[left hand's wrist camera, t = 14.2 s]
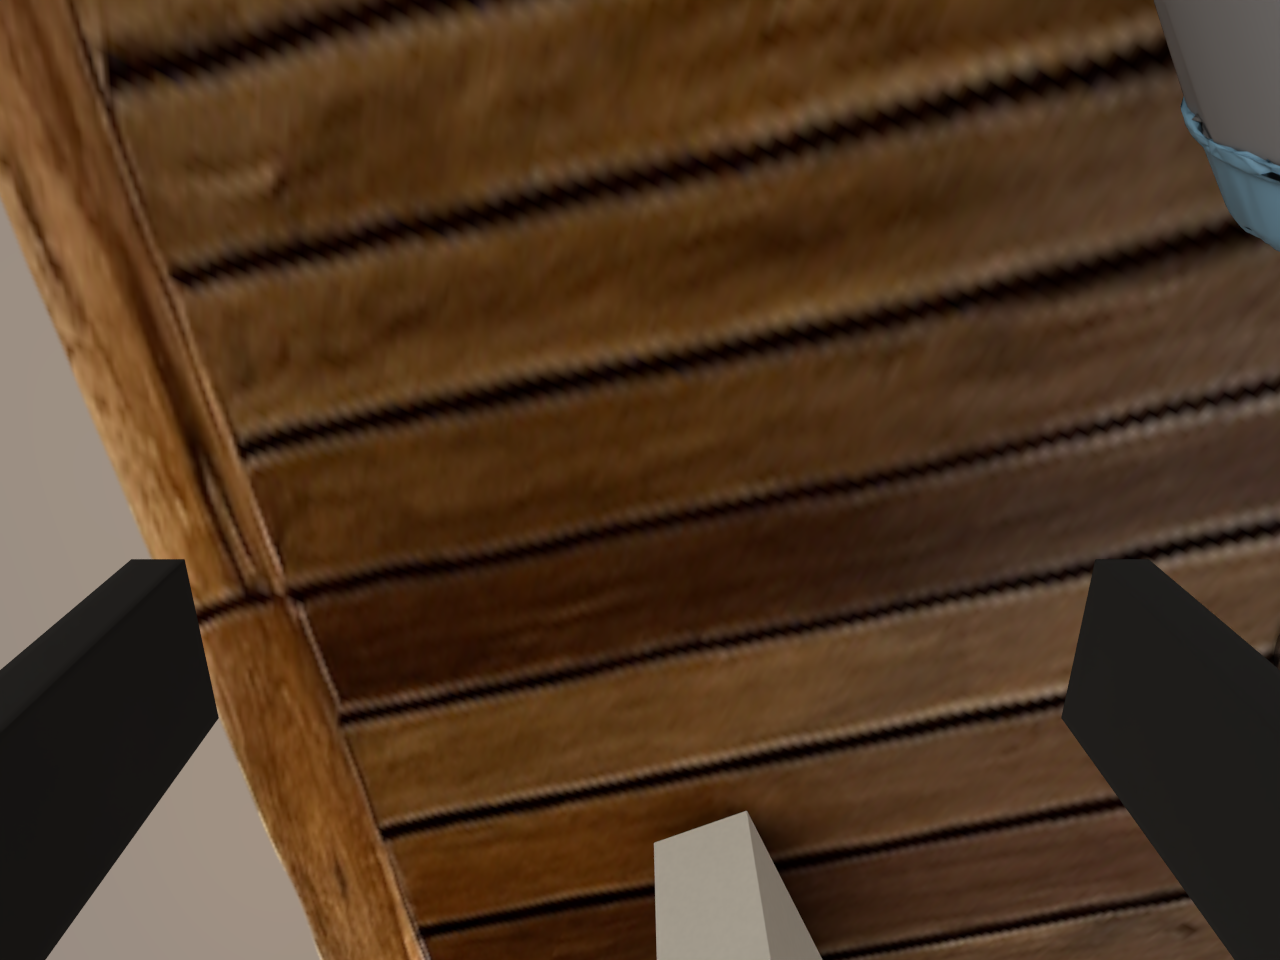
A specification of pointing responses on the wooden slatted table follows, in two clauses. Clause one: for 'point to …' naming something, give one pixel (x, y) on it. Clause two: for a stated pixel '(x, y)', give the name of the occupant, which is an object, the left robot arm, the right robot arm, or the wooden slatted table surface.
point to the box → (724, 898)
